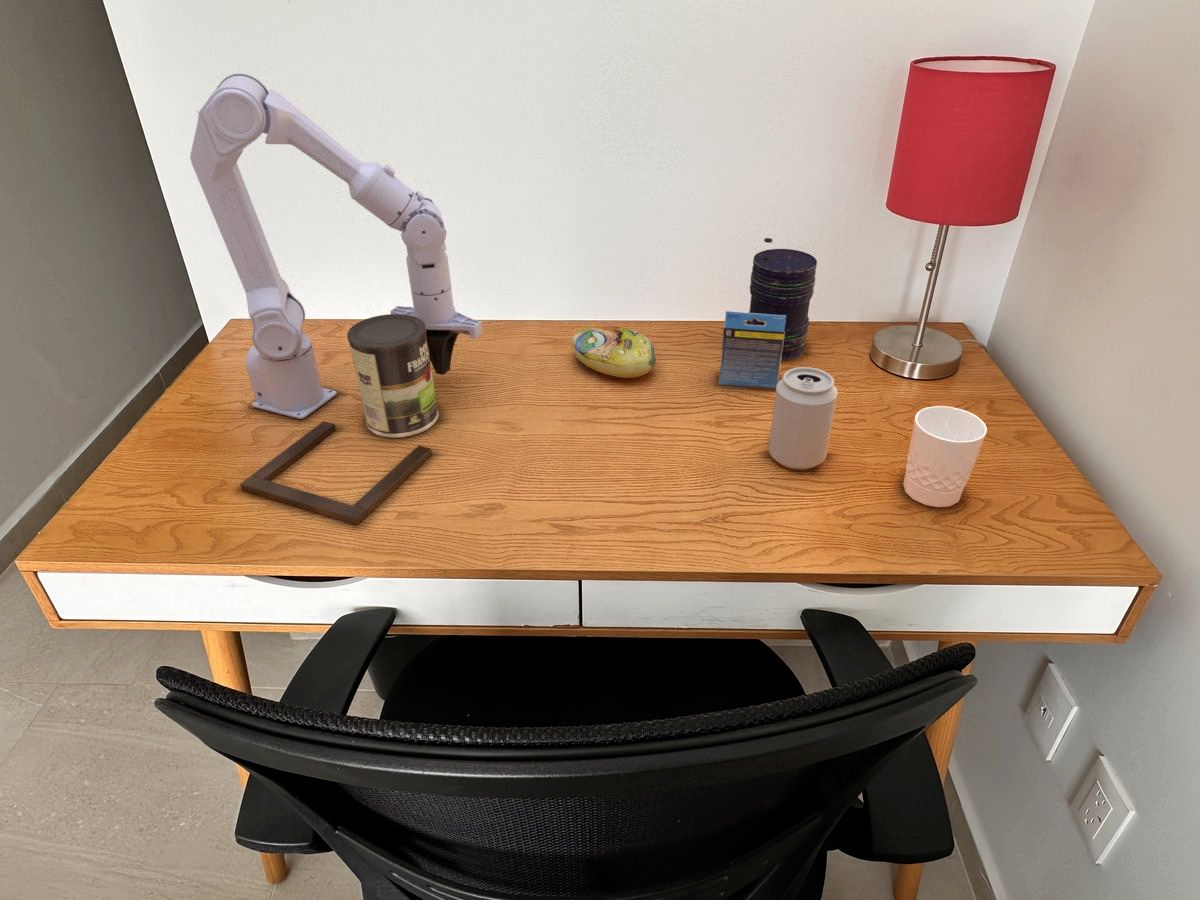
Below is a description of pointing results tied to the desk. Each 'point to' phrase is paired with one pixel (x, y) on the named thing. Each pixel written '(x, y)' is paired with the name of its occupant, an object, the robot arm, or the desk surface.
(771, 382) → the label tape box
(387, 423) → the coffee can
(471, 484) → the desk surface
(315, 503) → the walnut frame
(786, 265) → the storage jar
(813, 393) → the can
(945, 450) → the white cup
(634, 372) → the cell model
